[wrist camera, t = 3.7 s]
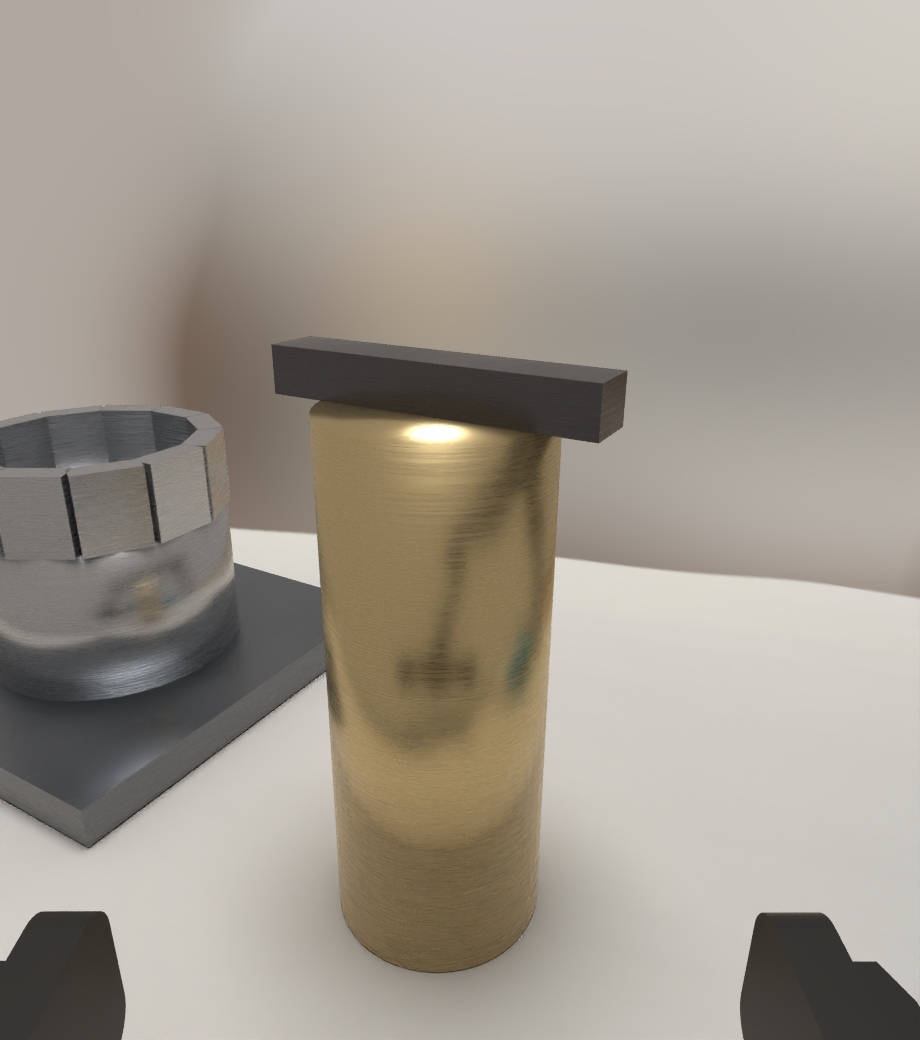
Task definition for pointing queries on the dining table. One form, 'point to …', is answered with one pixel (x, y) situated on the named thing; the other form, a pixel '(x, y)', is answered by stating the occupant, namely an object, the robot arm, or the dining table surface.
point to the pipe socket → (130, 613)
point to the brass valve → (439, 626)
